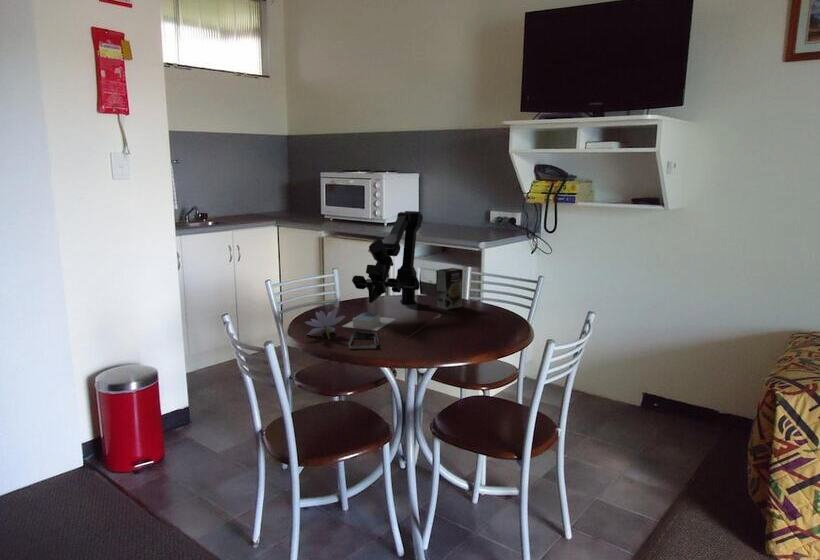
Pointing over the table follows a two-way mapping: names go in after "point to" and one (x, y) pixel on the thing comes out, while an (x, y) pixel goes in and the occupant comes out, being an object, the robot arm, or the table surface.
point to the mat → (376, 327)
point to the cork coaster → (437, 316)
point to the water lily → (324, 322)
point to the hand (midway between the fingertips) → (370, 302)
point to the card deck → (366, 320)
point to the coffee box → (449, 288)
